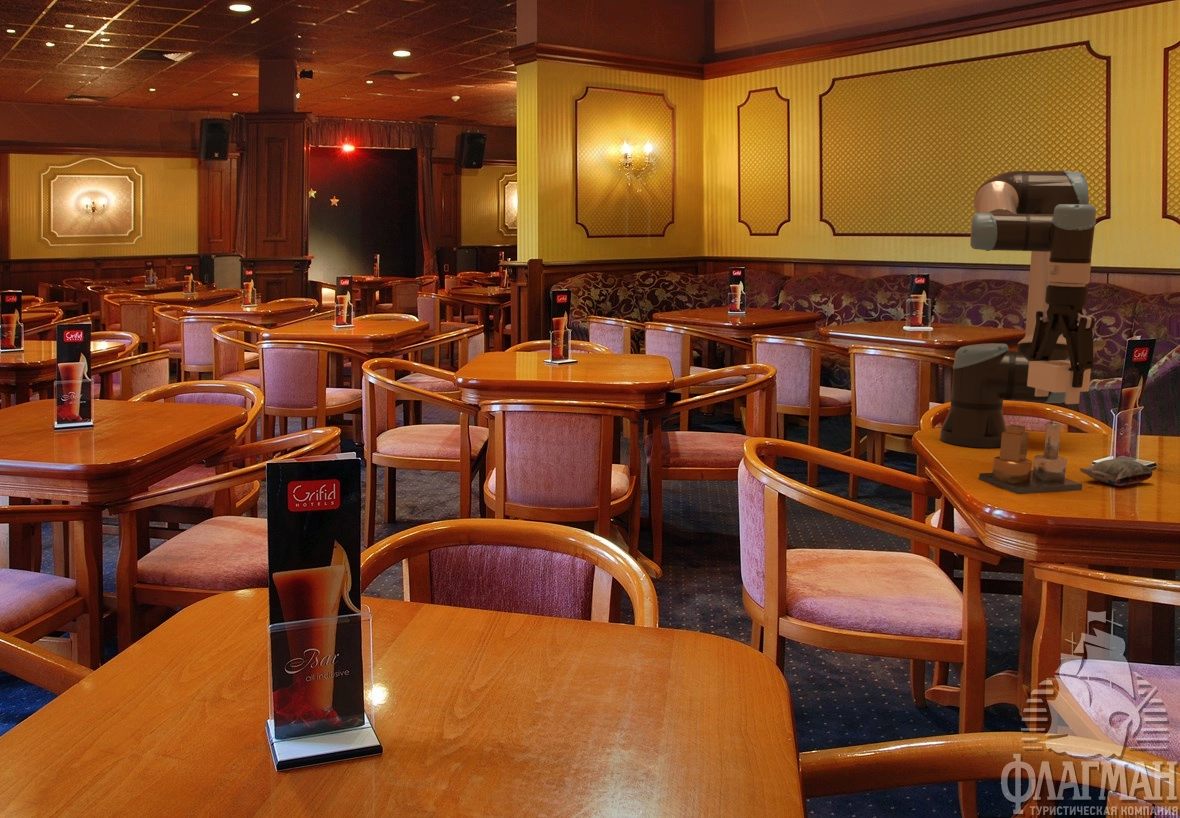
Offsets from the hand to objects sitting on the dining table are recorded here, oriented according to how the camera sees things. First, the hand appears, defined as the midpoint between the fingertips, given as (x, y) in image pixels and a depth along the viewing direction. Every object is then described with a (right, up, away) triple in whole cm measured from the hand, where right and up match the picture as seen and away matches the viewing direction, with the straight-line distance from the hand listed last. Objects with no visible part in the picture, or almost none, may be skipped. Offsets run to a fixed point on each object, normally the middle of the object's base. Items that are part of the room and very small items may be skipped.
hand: (1056, 399), depth 215 cm
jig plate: (-5, -17, +2) cm, 18 cm away
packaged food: (+14, -17, +5) cm, 23 cm away
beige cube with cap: (0, +2, 0) cm, 2 cm away
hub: (-9, -16, 0) cm, 18 cm away
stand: (0, -16, +3) cm, 16 cm away
